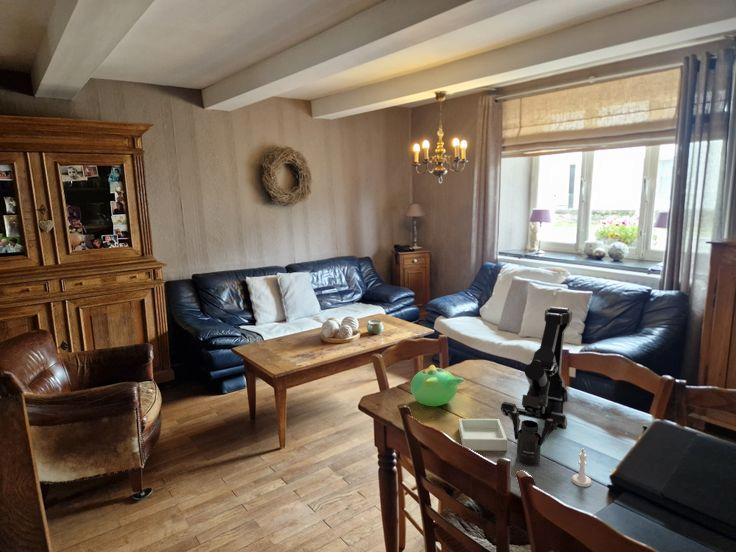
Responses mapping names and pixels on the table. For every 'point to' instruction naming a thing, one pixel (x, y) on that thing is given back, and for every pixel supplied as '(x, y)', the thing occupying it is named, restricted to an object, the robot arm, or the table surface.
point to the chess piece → (582, 472)
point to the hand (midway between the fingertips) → (527, 442)
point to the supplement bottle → (528, 443)
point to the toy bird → (434, 386)
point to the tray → (482, 434)
